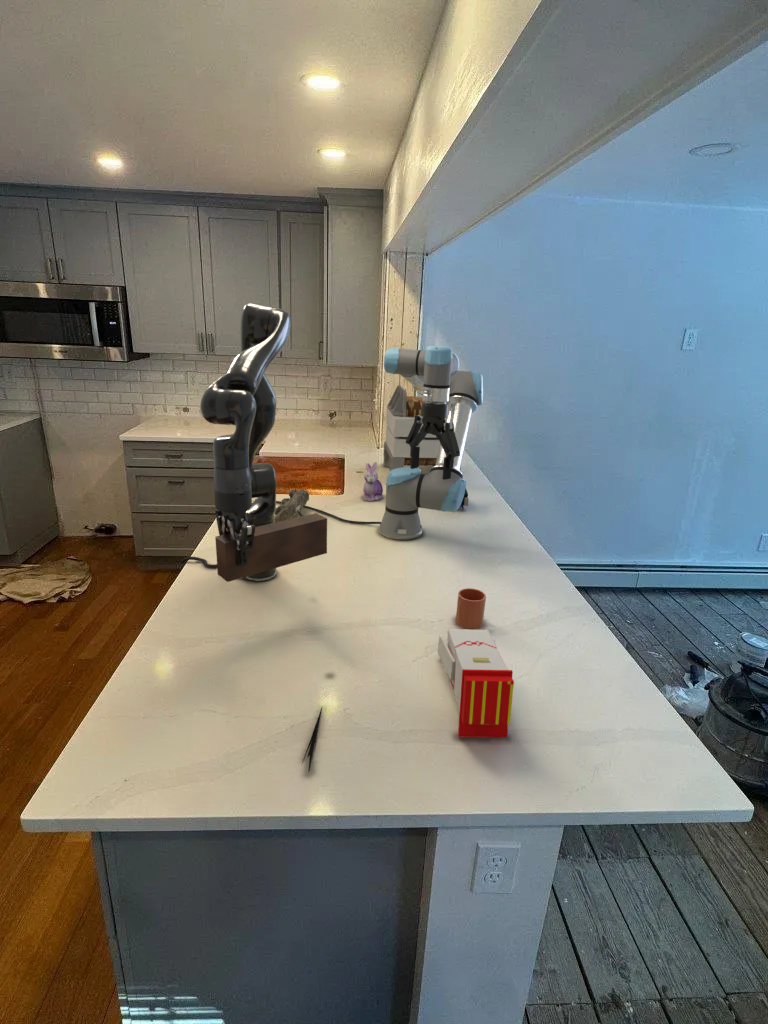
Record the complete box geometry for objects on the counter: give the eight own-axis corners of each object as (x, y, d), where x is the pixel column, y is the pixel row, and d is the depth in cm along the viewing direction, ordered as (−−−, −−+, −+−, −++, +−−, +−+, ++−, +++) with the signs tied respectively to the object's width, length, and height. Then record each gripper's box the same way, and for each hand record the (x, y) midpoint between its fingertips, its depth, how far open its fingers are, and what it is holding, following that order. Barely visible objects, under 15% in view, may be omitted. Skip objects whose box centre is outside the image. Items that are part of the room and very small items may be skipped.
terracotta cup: (450, 620, 145) (452, 593, 143) (467, 612, 150) (470, 585, 147) (470, 632, 141) (473, 603, 138) (488, 623, 145) (491, 596, 142)
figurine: (367, 502, 230) (368, 467, 225) (357, 495, 238) (358, 460, 233) (388, 500, 234) (389, 465, 229) (377, 492, 242) (378, 458, 237)
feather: (331, 679, 122) (336, 673, 122) (307, 777, 96) (313, 769, 95) (324, 675, 122) (329, 669, 121) (298, 772, 95) (304, 764, 95)
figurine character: (468, 514, 225) (463, 498, 239) (470, 497, 222) (465, 482, 235) (451, 514, 225) (447, 498, 238) (453, 497, 222) (449, 481, 235)
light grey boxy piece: (382, 463, 289) (386, 382, 275) (445, 464, 293) (451, 384, 279) (390, 482, 257) (394, 392, 243) (460, 483, 261) (468, 394, 247)
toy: (488, 613, 130) (523, 677, 101) (484, 667, 133) (517, 744, 104) (435, 612, 130) (455, 676, 101) (432, 666, 133) (451, 743, 103)
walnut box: (227, 582, 121) (224, 543, 118) (217, 574, 124) (215, 536, 121) (326, 553, 137) (327, 518, 134) (316, 547, 140) (316, 512, 137)
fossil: (278, 495, 221) (307, 474, 216) (294, 513, 224) (323, 493, 219) (262, 520, 201) (293, 498, 196) (280, 540, 204) (311, 518, 199)
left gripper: (200, 480, 121) (206, 554, 126) (232, 498, 110) (236, 577, 116) (233, 475, 125) (236, 546, 131) (266, 492, 115) (268, 568, 121)
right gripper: (396, 396, 169) (393, 465, 176) (458, 409, 152) (452, 485, 159) (414, 395, 174) (410, 462, 181) (477, 407, 156) (469, 481, 163)
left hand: (236, 560), depth 124 cm, fingers closed on walnut box, 4 cm apart
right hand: (430, 473), depth 170 cm, fingers open, 13 cm apart
